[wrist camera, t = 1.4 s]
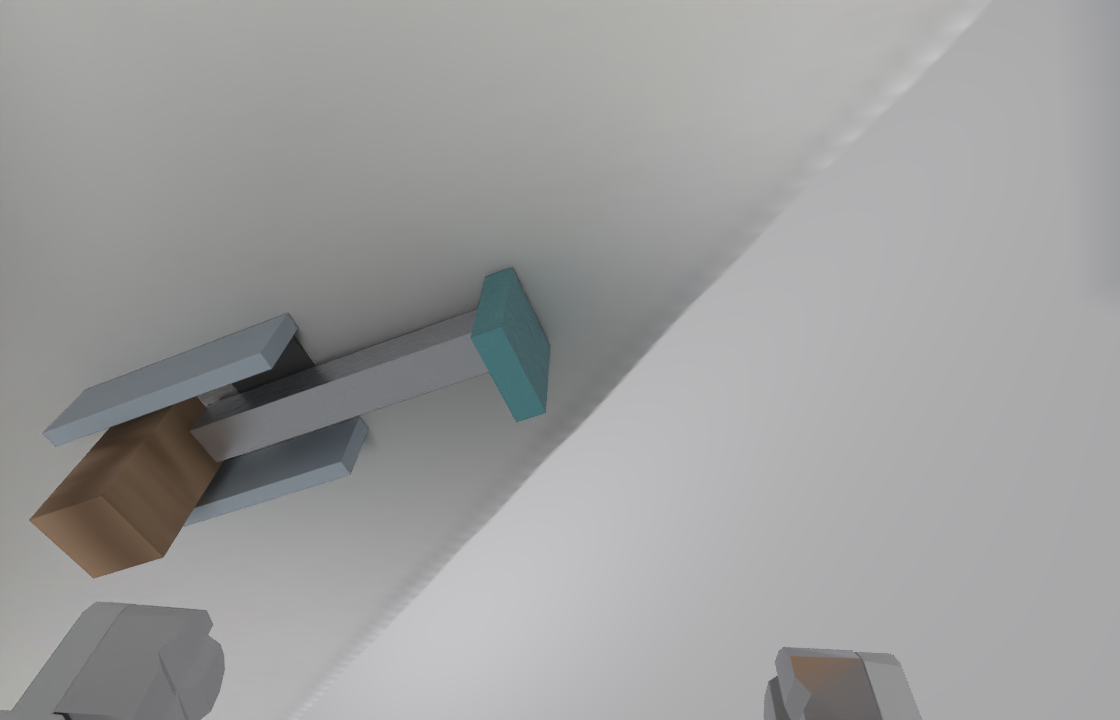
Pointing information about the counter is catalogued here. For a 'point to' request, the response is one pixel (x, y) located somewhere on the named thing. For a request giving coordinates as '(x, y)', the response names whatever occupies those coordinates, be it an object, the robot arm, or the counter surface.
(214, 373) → the channel
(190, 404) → the walnut block
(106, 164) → the counter surface
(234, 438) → the teal headed mallet
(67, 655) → the robot arm
